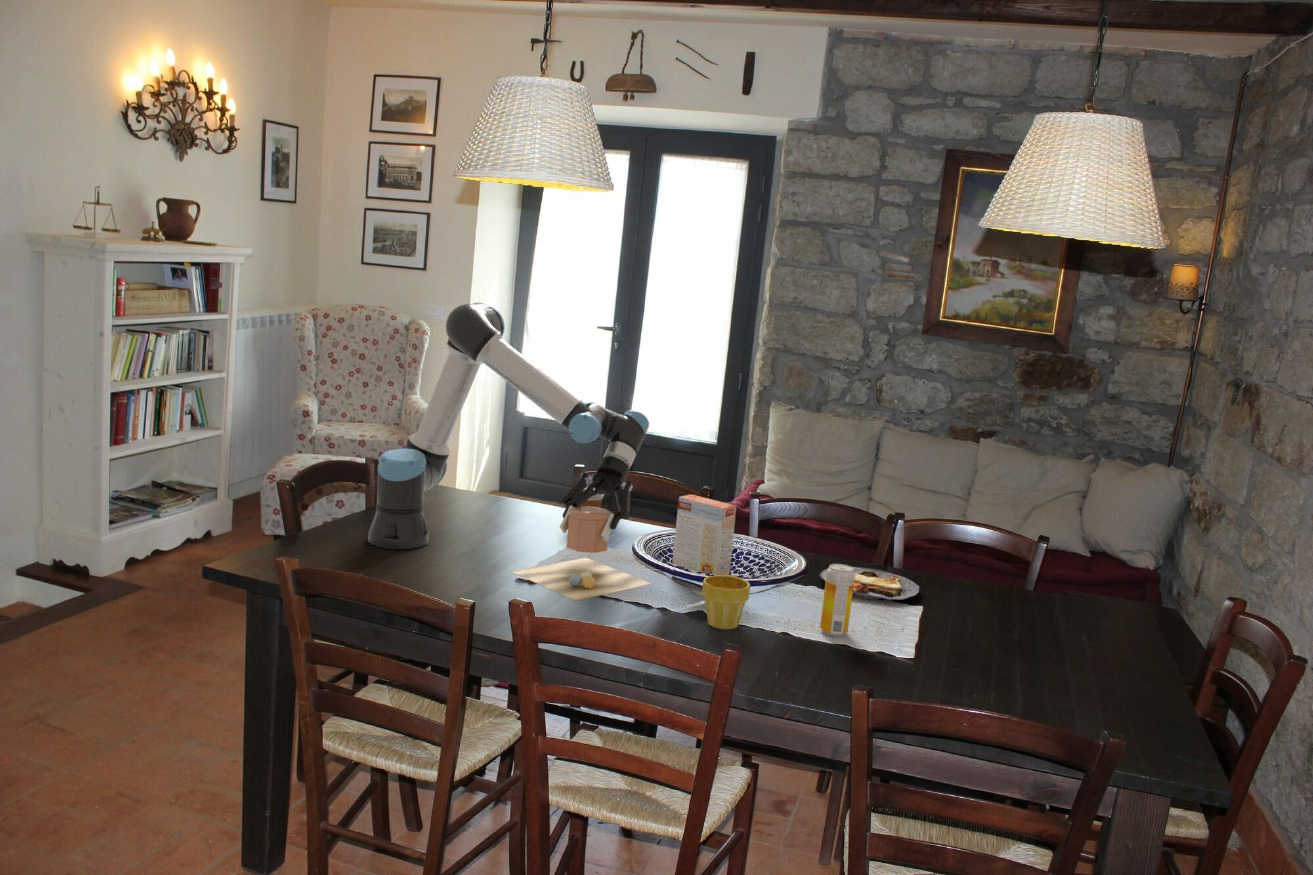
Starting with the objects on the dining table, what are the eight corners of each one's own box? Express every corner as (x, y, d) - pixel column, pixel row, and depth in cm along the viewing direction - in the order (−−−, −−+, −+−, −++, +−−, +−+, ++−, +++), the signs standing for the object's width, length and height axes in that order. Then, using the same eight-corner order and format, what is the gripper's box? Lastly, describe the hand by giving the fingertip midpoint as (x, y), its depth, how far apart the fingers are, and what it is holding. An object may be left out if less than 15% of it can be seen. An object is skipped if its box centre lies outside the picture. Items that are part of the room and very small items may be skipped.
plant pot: (689, 622, 217) (693, 579, 216) (717, 612, 225) (721, 571, 224) (727, 636, 211) (732, 592, 209) (754, 626, 219) (759, 583, 217)
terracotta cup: (557, 544, 247) (560, 509, 245) (589, 538, 254) (591, 504, 253) (585, 554, 240) (588, 518, 238) (616, 548, 247) (619, 513, 246)
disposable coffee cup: (563, 526, 287) (566, 485, 285) (594, 525, 291) (597, 485, 289) (574, 535, 279) (577, 493, 277) (606, 534, 283) (609, 493, 281)
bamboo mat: (511, 574, 239) (511, 571, 239) (585, 559, 256) (585, 557, 256) (576, 603, 223) (576, 600, 223) (651, 585, 240) (651, 583, 240)
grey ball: (565, 585, 233) (566, 573, 232) (575, 583, 235) (576, 571, 234) (574, 589, 231) (575, 576, 230) (583, 586, 233) (584, 574, 232)
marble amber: (579, 587, 232) (580, 575, 232) (588, 585, 234) (589, 573, 234) (587, 591, 230) (588, 578, 230) (597, 589, 232) (598, 576, 232)
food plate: (814, 592, 247) (816, 578, 246) (823, 568, 269) (825, 556, 268) (916, 612, 241) (919, 598, 240) (918, 586, 263) (920, 573, 262)
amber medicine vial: (841, 627, 223) (849, 563, 221) (851, 637, 217) (859, 572, 215) (815, 627, 222) (823, 562, 219) (824, 637, 216) (833, 571, 214)
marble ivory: (576, 583, 235) (577, 571, 235) (585, 581, 237) (586, 569, 237) (584, 586, 233) (585, 574, 233) (594, 584, 235) (595, 572, 235)
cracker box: (729, 587, 245) (738, 505, 241) (714, 592, 240) (723, 508, 237) (685, 572, 253) (693, 492, 250) (670, 576, 249) (677, 495, 245)
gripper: (660, 479, 254) (629, 551, 242) (580, 465, 263) (546, 534, 251) (653, 461, 248) (621, 534, 236) (572, 448, 257) (537, 517, 246)
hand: (582, 534), depth 244 cm, fingers closed on terracotta cup, 11 cm apart
